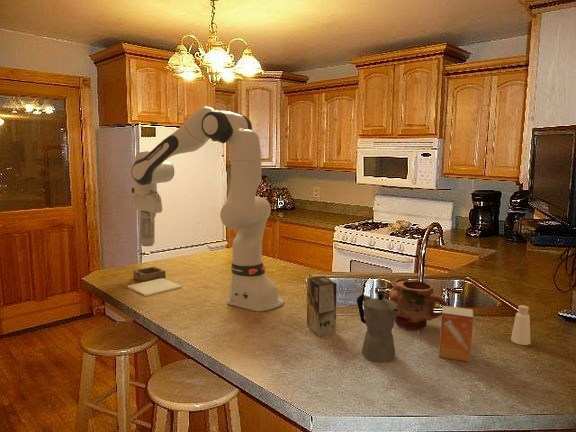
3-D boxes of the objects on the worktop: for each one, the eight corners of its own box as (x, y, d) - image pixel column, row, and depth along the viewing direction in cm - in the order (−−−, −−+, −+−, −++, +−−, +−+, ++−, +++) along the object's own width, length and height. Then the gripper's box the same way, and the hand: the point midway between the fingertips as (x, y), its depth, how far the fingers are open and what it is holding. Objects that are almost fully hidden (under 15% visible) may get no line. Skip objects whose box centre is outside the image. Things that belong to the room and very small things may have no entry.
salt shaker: (507, 337, 134) (510, 303, 132) (525, 337, 134) (528, 303, 132) (515, 345, 128) (518, 309, 127) (534, 345, 128) (537, 309, 127)
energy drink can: (155, 243, 196) (155, 210, 192) (153, 246, 190) (153, 213, 187) (141, 242, 194) (141, 209, 191) (139, 246, 189) (139, 212, 185)
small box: (438, 357, 120) (441, 312, 119) (439, 348, 126) (442, 305, 124) (470, 362, 118) (473, 316, 116) (470, 352, 123) (473, 308, 121)
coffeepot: (408, 359, 119) (411, 296, 116) (384, 369, 114) (387, 303, 111) (367, 339, 132) (369, 282, 129) (344, 347, 126) (345, 287, 124)
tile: (182, 287, 181) (182, 286, 181) (146, 296, 170) (145, 294, 169) (162, 279, 192) (162, 278, 192) (127, 287, 181) (127, 285, 181)
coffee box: (336, 333, 136) (337, 283, 134) (318, 336, 134) (319, 285, 132) (323, 322, 145) (323, 275, 142) (305, 325, 142) (306, 277, 140)
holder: (165, 278, 194) (165, 270, 193) (144, 283, 187) (144, 275, 186) (154, 273, 201) (154, 266, 200) (133, 278, 194) (133, 270, 194)
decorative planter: (452, 327, 141) (455, 286, 139) (440, 340, 131) (442, 296, 129) (394, 313, 153) (396, 275, 151) (379, 324, 143) (380, 283, 141)
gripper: (165, 190, 183) (166, 223, 184) (142, 188, 197) (143, 218, 199) (151, 191, 178) (152, 225, 180) (128, 188, 193) (130, 219, 194)
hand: (147, 221), depth 190 cm, fingers closed on energy drink can, 6 cm apart
